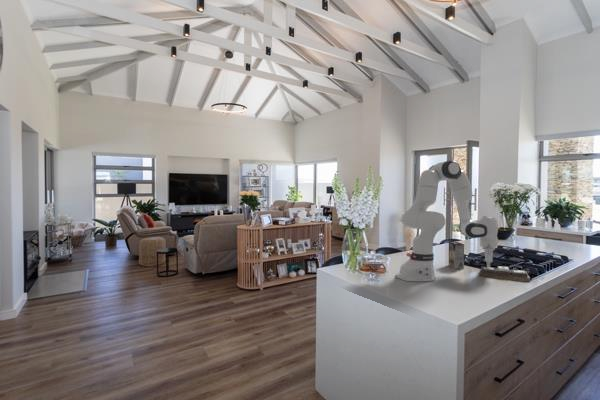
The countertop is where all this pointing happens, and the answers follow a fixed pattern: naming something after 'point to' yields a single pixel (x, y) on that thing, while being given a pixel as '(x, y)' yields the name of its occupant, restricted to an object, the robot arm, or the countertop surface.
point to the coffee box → (456, 255)
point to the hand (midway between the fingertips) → (488, 266)
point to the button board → (504, 274)
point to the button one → (503, 268)
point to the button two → (518, 271)
